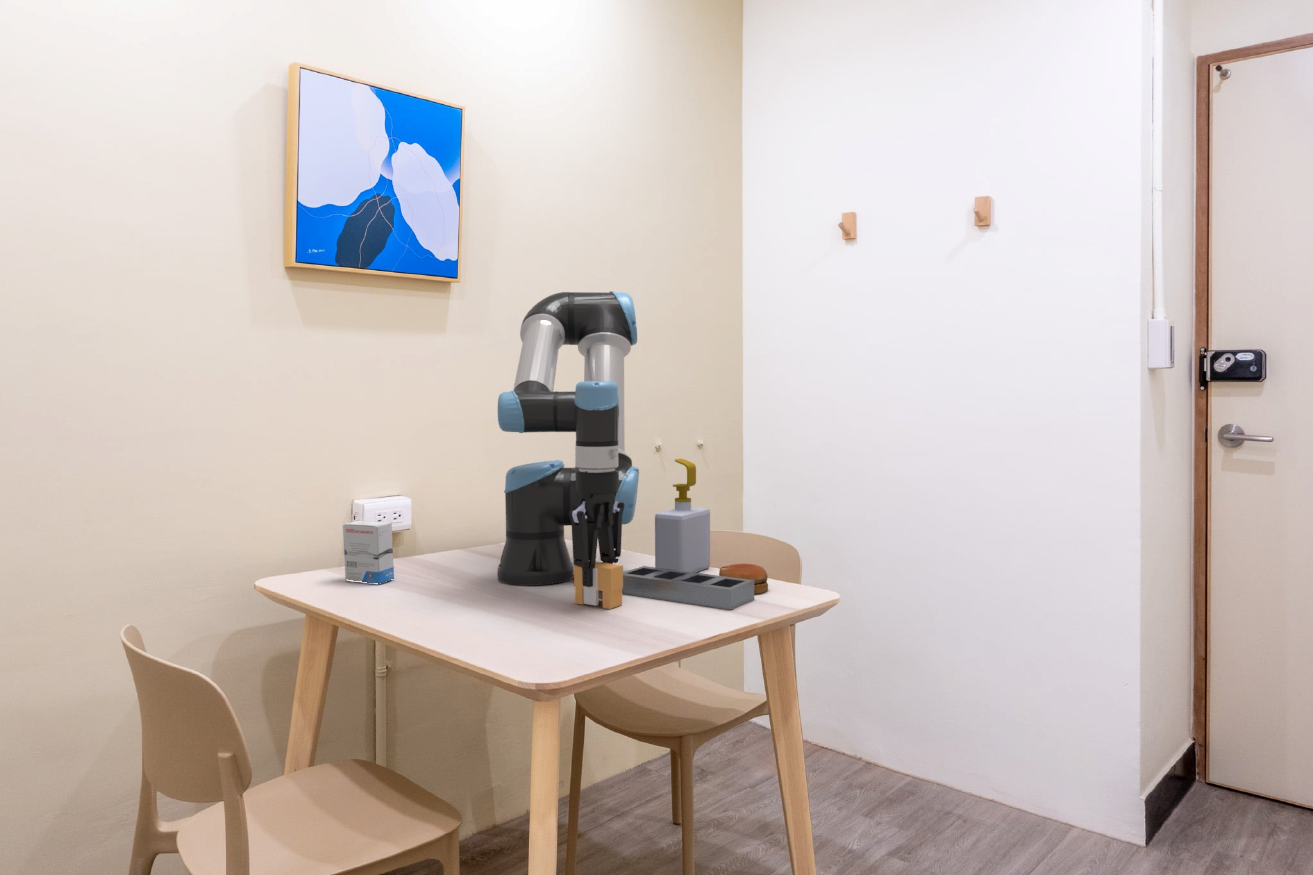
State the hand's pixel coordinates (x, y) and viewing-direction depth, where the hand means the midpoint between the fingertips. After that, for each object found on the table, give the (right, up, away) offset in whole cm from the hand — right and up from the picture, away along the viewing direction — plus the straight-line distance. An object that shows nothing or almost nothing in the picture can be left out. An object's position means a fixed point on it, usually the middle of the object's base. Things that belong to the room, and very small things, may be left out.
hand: (598, 601), depth 157 cm
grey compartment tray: (+15, 0, +6) cm, 16 cm away
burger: (+27, 0, +11) cm, 29 cm away
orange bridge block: (0, 0, 0) cm, 1 cm away
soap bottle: (+16, +1, +28) cm, 32 cm away
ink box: (-47, 0, +19) cm, 51 cm away
